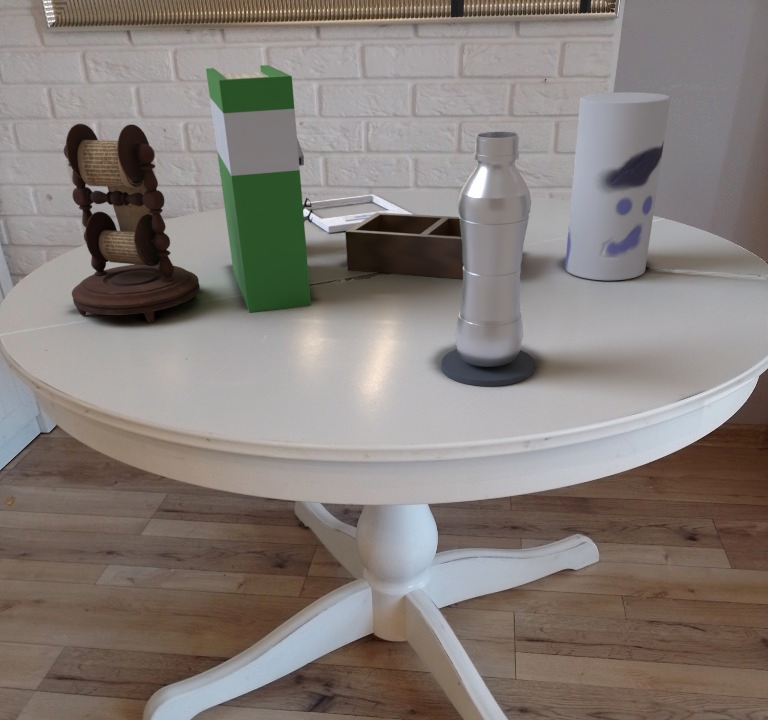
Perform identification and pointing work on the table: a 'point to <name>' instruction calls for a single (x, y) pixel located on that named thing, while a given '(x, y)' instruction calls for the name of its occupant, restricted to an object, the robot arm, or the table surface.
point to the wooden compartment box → (406, 245)
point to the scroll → (124, 227)
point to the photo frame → (350, 220)
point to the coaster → (488, 370)
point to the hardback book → (261, 185)
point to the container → (615, 183)
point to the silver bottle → (492, 253)
